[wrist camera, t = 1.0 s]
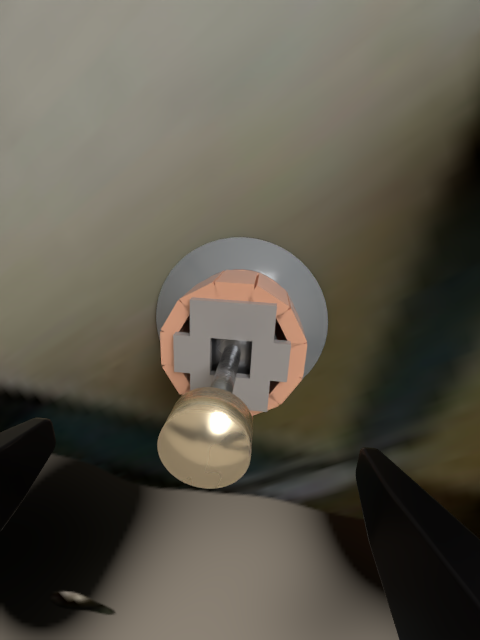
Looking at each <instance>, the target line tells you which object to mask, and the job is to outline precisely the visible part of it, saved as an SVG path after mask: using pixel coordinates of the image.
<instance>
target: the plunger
mask: <svg viewBox="0 0 480 640" xmlns="http://www.w3.org/2000/svg"><path fill="white" fill-rule="evenodd" d="M274 340H277V337H276V334H275V333H274ZM251 353H252V341H240V340H228V339H216V338H212V370H211V371H216V373H215V375H214V378H213V381H212V384H211V386H210V387H201V388H196V389H193V390H191V391H189V392H187V393H185V394H184V395H182V396H181V397H180V398H179V399H178V401H177V402H176V403H175V405H174V407H173V409H172V411H171V413H170V415H169V417H168V419H167V420H166V422H165V424H164V426H163V428H162V430H161V432H160V434H159V437H158V445H157V447H158V453H159V457H160V459H161V461H162V463H163V465H164V466H165V467H166V469H167V470H168V471H169V472H170V473H171V474H172V475H173V476H175V477H176V478H177V479H179V480H181V481H182V482H184V483H186V484H189V485H192V486H195V487H199V488H208V489H211V488H221V487H225V486H228V485H230V484H232V483H234V482H236V481H237V480H238V479H240V478H241V477H242V476H243V475H244V473H245V472H246V471H247V469H248V467H249V464H250V459H251V448H252V436H253V419H252V416H251V413H250V411H249V409H248V407H247V406H246V405H245V403H244V402H243V401H242V400H241V399H240V398H238V397H237V396H236V395H234V394H232V393H233V389H234V384H235V380H236V375H237V373H241V374H250V368H251Z"/></svg>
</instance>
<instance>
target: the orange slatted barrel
mask: <svg viewBox="0 0 480 640" xmlns="http://www.w3.org/2000/svg"><path fill="white" fill-rule="evenodd" d="M161 330H162V331H160V343H161V365H163V366H162V367H163V369H164V371H165V372H166V374H167V375H168V377H169V378H170V380H171V382H172V383H173V385H174V386H175V388H176V390H177V391H178V393H179V394H182V393H183V394H182V395H184V394H185V393H187V392H189V391H191V390H193V389H196V388H201V387H210V386H211V384H212V381H213V378H214V375H215V373H216V371H211V370H212V338H216V339H228V340H240V341H252V353H251V368H250V374H241V373H237V375H236V380H235V384H234V389H233V393H232V394H234V395H236V396H237V397H238V398H240V399H241V400H242V401H243V402H244V403H245V405H246V406H247V407H248V409H249V411H250V413H251V416H252V419H253V415H256V414H258V413H261V412H267V410H269V409H272V408H275V407H277V406H279V404H282V403H283V402H284V400H285V399H286V398H287V397H288V396H289V394H290V393H291V392H292V391H293V390H294V389H295V387H296V386H297V385H298V384H299V383H300V381H301V380H302V378H303V374H304V366H305V359H306V351H307V340H306V337H305V333H304V330H303V327H302V324H301V321H300V318H299V316H298V314H297V311H296V309H295V307H294V304H293V302H292V300H291V298H290V297H289V294H288V292H286V290H285V289H284V288H282V287H281V286H280V285H279V284H278V283H277V282H275V281H274V280H273V279H271V278H269V277H268V276H266V275H264V274H261V273H259V272H255V271H252V270H245V269H233V270H226V271H224V270H223V271H221V272H219V273H217V274H214V275H212V276H211V277H209V278H207V279H206V280H204V281H202V282H200V283H198V284H197V285H195V286H194V287H193V288H192V289H191V290H189V291H188V292H187V293H186V294H185V295H184V296H182V297H181V298H180V299H179V300H178V301H177V303H176V304H175V306H174V308H173V310H172V311H171V313H170V315H169V316H168V318H167V320H166V321H165V323H164V325H163V326H162V328H161ZM274 333H275V334H276V337H277V340H274Z"/></svg>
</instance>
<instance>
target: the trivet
mask: <svg viewBox="0 0 480 640" xmlns="http://www.w3.org/2000/svg"><path fill="white" fill-rule="evenodd" d="M233 269H245V270H252V271H255V272H259V273H261V274H264V275H266V276H268V277H269V278H271V279H273V280H274V281H275V282H277V283H278V284H279V285H280V286H281V287H282V288H284V289H285V290H286V292H288V294H289V297H290V298H291V300H292V302H293V304H294V307H295V309H296V311H297V314H298V316H299V318H300V321H301V324H302V327H303V330H304V333H305V337H306V340H307V351H306V359H305V366H304V374H303V378H304V377H305V376H306V375H307V374H308V373H309V372H310V370H311V369H312V368H313V366H314V365H315V364H316V362H317V360H318V358H319V356H320V355H321V352H322V350H323V347H324V345H325V340H326V336H327V328H328V314H327V308H326V303H325V299H324V296H323V293H322V291H321V288H320V286H319V285H318V283H317V281H316V279H315V278H314V276H313V275H312V273H311V272H310V271H309V269H308V268H307V267H306V266H305V265H304V264H303V263H302V262H301V261H300V260H299V259H298V258H297V257H295V256H294V255H293V254H292V253H290V252H289V251H287V250H285V249H284V248H282V247H280V246H278V245H275V244H273V243H271V242H268V241H264V240H260V239H256V238H248V237H231V238H225V239H220V240H216V241H213V242H210V243H207V244H205V245H203V246H201V247H198V248H197V249H195V250H193V251H192V252H190V253H189V254H187V255H186V256H185V257H184V258H183V259H181V260H180V261H179V262H178V263H177V265H176V266H175V267H174V268H173V269H172V270H171V272H170V273H169V275H168V276H167V278H166V280H165V282H164V284H163V286H162V288H161V291H160V294H159V298H158V303H157V309H156V323H157V331H158V335H159V339H160V331H162V330H161V328H162V326H163V325H164V323H165V321H166V320H167V318H168V316H169V315H170V313H171V311H172V310H173V308H174V306H175V304H176V303H177V301H178V300H179V299H180V298H181V297H182V296H184V295H185V294H186V293H187V292H188V291H189V290H191V289H192V288H193V287H194V286H195V285H197V284H198V283H200V282H202V281H204V280H206V279H207V278H209V277H211V276H212V275H214V274H217V273H219V272H221V271H223V270H224V271H226V270H233ZM303 378H302V379H303Z"/></svg>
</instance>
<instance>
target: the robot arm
mask: <svg viewBox="0 0 480 640" xmlns="http://www.w3.org/2000/svg"><path fill="white" fill-rule="evenodd" d="M55 444H56V440H55V435H54V430H53V425H52V422H51V420H50V419H46V418H34V419H31V420H29V421H26V422H24V423H22V424H19V425H17V426H15V427H12V428H10V429H8V430H5V431H3V432H1V433H0V531H1V530H2V528H3V527H4V525H5V524H6V523H7V522H8V520H9V519H10V517H11V516H12V515H13V513H14V512H15V511H16V509H17V508H18V506H19V505H20V503H21V502H22V501H23V499H24V497H25V496H26V494H27V493H28V491H29V489H30V488H31V486H32V484H33V483H34V481H35V480H36V478H37V476H38V475H39V473H40V471H41V470H42V468H43V467H44V465H45V463H46V462H47V460H48V458H49V457H50V455H51V453H52V452H53V450H54V448H55ZM356 481H357V486H358V491H359V495H360V500H361V505H362V510H363V515H364V520H365V524H366V529H367V534H368V538H369V542H370V546H371V549H372V553H373V556H374V559H375V562H376V566H377V569H378V572H379V575H380V578H381V582H382V585H383V588H384V591H385V595H386V598H387V601H388V604H389V608H390V611H391V614H392V617H393V620H394V624H395V627H396V630H397V633H398V637H399V640H480V539H479V538H478V537H477V536H476V535H475V534H473V533H472V532H471V531H470V530H469V529H468V528H467V527H465V526H464V525H463V524H462V523H461V522H460V521H459V520H458V519H456V518H455V517H454V516H453V515H452V514H451V513H450V512H448V511H447V510H446V509H445V508H444V507H443V506H442V505H441V504H439V503H438V502H437V501H436V500H435V499H434V498H433V497H432V496H430V495H429V494H428V493H427V492H426V491H425V490H424V489H422V488H421V487H420V486H419V485H418V484H417V483H416V482H415V481H413V480H412V479H411V478H410V477H409V476H408V475H407V474H406V473H404V472H403V471H402V470H401V469H400V468H399V467H398V466H396V465H395V464H394V463H393V462H392V461H391V460H390V459H389V458H387V457H386V456H385V455H384V454H383V453H382V452H381V451H379V450H378V449H375V448H366V447H363V448H362V449H361V450H360V453H359V458H358V463H357V468H356Z"/></svg>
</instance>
